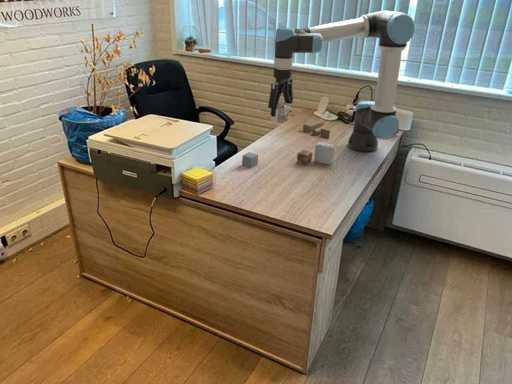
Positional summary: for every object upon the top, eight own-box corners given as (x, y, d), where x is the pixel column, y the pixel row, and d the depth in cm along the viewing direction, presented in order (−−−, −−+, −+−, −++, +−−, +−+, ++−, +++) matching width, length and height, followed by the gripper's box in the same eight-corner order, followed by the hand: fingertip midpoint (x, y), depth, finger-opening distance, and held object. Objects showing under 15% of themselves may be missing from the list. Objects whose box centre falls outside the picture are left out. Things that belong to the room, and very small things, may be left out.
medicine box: (333, 162, 201) (335, 144, 197) (330, 165, 198) (332, 147, 194) (316, 158, 204) (318, 141, 200) (313, 162, 201) (315, 144, 197)
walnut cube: (311, 162, 201) (312, 152, 198) (306, 165, 197) (307, 155, 195) (301, 159, 203) (302, 149, 201) (296, 163, 199) (297, 152, 197)
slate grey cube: (257, 164, 196) (258, 154, 194) (251, 168, 192) (251, 158, 190) (248, 162, 198) (248, 152, 196) (242, 165, 194) (242, 155, 192)
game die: (282, 130, 189) (289, 117, 180) (265, 122, 189) (270, 108, 180) (289, 116, 193) (296, 102, 185) (272, 108, 193) (278, 93, 184)
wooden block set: (302, 122, 236) (319, 116, 249) (301, 132, 239) (319, 125, 251) (329, 129, 227) (345, 122, 239) (327, 140, 229) (344, 132, 242)
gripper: (288, 63, 188) (285, 113, 198) (260, 70, 172) (258, 125, 182) (303, 65, 184) (299, 116, 195) (276, 73, 168) (274, 128, 178)
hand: (280, 120), depth 188 cm, fingers closed on game die, 9 cm apart
